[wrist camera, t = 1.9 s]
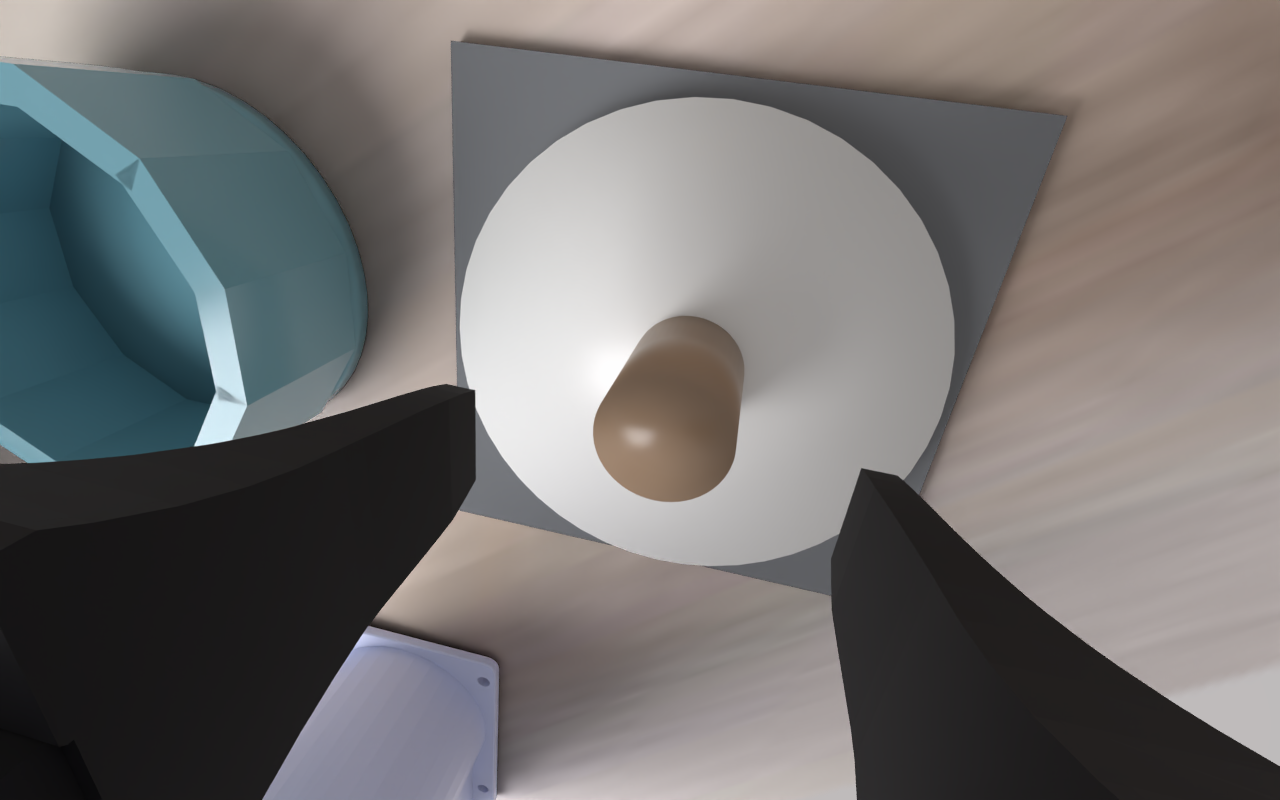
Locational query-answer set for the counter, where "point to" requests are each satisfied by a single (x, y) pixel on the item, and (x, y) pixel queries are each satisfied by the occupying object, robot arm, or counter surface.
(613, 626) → the counter surface
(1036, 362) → the counter surface
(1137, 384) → the counter surface
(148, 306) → the bowl
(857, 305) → the lid
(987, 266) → the mat
